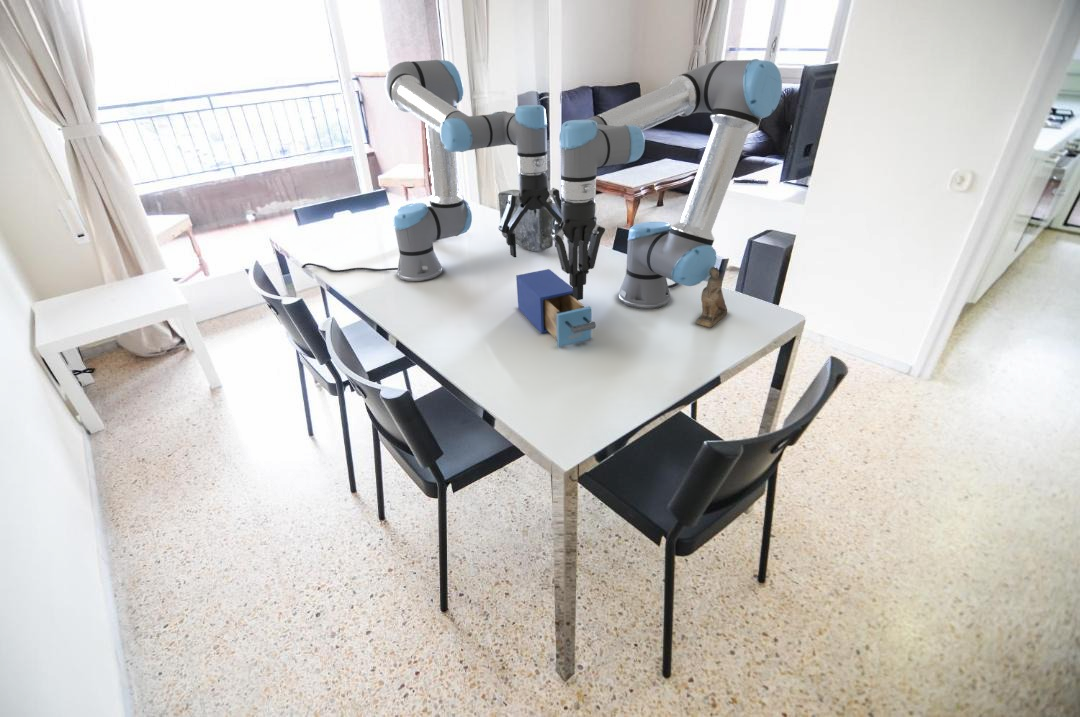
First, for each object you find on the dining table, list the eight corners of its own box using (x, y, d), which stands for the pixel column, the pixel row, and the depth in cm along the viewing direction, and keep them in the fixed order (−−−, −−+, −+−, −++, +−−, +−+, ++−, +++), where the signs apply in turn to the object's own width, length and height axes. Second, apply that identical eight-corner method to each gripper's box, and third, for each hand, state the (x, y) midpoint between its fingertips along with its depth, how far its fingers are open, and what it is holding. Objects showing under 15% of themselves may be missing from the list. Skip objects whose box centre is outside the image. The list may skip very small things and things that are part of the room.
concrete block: (558, 253, 189) (557, 199, 178) (539, 258, 184) (537, 204, 174) (519, 237, 207) (516, 187, 197) (501, 241, 203) (497, 191, 193)
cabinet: (575, 325, 139) (575, 290, 133) (541, 333, 135) (540, 297, 130) (549, 302, 153) (549, 268, 147) (518, 308, 149) (516, 275, 144)
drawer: (601, 348, 126) (602, 316, 121) (568, 356, 123) (568, 324, 118) (563, 314, 143) (563, 285, 138) (534, 320, 140) (532, 291, 135)
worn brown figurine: (709, 335, 136) (713, 280, 124) (691, 329, 139) (693, 274, 128) (730, 313, 142) (736, 258, 130) (712, 307, 145) (716, 253, 133)
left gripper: (491, 180, 121) (498, 263, 132) (582, 169, 129) (581, 248, 140) (482, 175, 127) (489, 255, 138) (569, 164, 135) (570, 241, 146)
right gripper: (558, 206, 103) (560, 309, 116) (613, 198, 107) (608, 298, 120) (544, 199, 109) (547, 297, 121) (596, 191, 113) (593, 287, 126)
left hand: (536, 252), depth 139 cm, fingers open, 13 cm apart
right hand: (577, 297), depth 121 cm, fingers closed
